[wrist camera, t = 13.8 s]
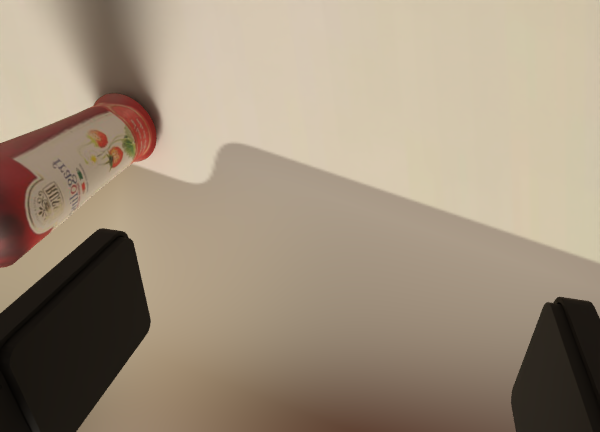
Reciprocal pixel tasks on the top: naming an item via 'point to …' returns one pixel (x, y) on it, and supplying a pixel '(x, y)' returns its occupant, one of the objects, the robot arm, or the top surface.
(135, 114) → the liquor
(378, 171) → the top surface
